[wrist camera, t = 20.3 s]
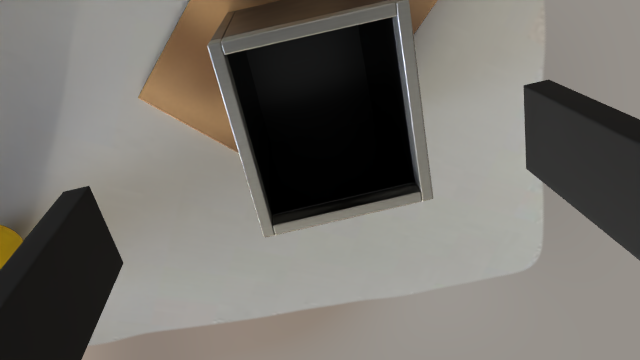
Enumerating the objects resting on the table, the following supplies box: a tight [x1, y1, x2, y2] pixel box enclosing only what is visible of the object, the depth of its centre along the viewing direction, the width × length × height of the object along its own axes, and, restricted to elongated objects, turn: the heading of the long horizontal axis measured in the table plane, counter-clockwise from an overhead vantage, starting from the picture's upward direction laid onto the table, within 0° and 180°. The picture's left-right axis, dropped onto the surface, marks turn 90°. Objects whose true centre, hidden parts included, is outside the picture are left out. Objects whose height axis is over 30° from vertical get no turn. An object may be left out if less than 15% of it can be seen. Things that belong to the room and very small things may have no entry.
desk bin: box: [207, 0, 433, 238], centre depth 30 cm, size 13×9×10 cm
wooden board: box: [138, 0, 437, 153], centre depth 35 cm, size 20×14×1 cm
